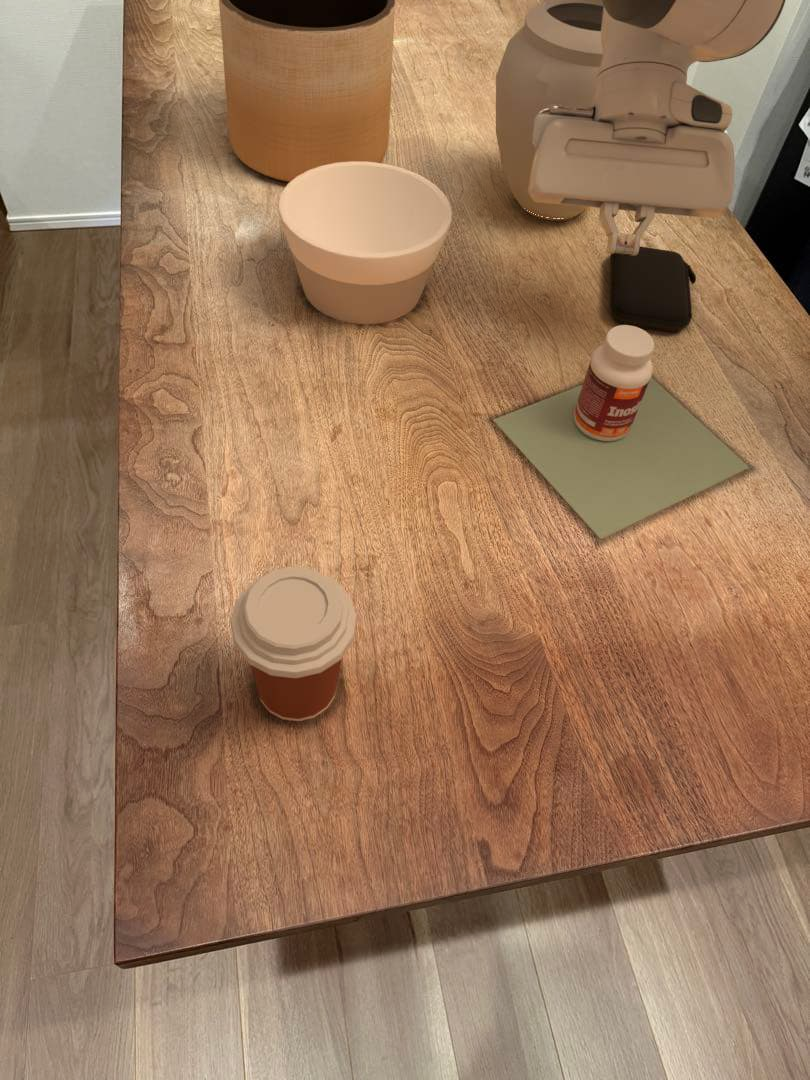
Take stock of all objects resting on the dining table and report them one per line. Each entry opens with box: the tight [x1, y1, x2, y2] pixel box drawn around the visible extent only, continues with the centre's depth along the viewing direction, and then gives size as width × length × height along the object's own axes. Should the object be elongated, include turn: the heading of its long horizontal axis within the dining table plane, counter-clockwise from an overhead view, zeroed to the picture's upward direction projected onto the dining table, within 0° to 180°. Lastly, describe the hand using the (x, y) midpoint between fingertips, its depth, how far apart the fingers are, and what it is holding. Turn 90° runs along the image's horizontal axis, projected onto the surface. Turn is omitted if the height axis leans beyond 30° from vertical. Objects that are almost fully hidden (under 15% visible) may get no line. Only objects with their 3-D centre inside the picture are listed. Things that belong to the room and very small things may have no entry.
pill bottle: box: [574, 324, 655, 441], centre depth 88 cm, size 6×6×11 cm
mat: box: [492, 376, 750, 540], centre depth 91 cm, size 20×18×1 cm
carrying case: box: [608, 245, 697, 333], centre depth 106 cm, size 11×3×15 cm
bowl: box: [277, 161, 453, 325], centre depth 100 cm, size 19×19×11 cm
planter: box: [218, 0, 396, 184], centre depth 116 cm, size 22×22×20 cm
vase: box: [495, 0, 604, 221], centre depth 109 cm, size 20×20×24 cm
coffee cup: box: [229, 565, 358, 722], centre depth 67 cm, size 9×9×12 cm
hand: (622, 253), depth 89 cm, fingers closed
